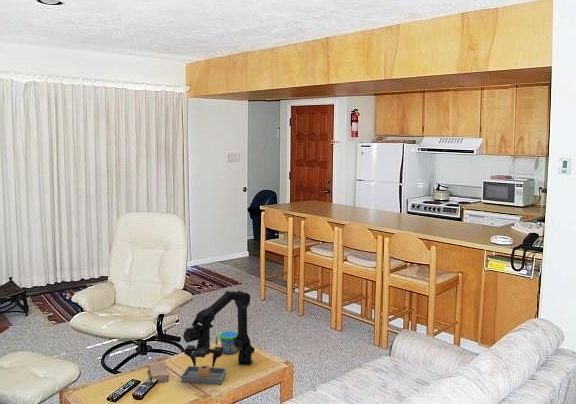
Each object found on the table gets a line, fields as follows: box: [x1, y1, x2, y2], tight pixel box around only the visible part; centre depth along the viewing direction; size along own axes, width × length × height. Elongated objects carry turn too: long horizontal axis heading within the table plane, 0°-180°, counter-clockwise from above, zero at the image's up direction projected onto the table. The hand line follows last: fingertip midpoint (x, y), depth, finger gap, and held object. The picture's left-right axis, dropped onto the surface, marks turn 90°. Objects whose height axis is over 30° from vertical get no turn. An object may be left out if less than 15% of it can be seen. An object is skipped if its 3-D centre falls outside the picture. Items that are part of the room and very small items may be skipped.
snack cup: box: [215, 330, 238, 354], centre depth 296 cm, size 16×10×10 cm
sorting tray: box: [180, 365, 227, 386], centre depth 263 cm, size 20×12×3 cm, turn 84°
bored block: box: [198, 364, 211, 378], centre depth 263 cm, size 5×5×5 cm
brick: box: [148, 360, 170, 384], centre depth 265 cm, size 17×8×5 cm, turn 21°
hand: (204, 367), depth 263 cm, fingers open, 9 cm apart
